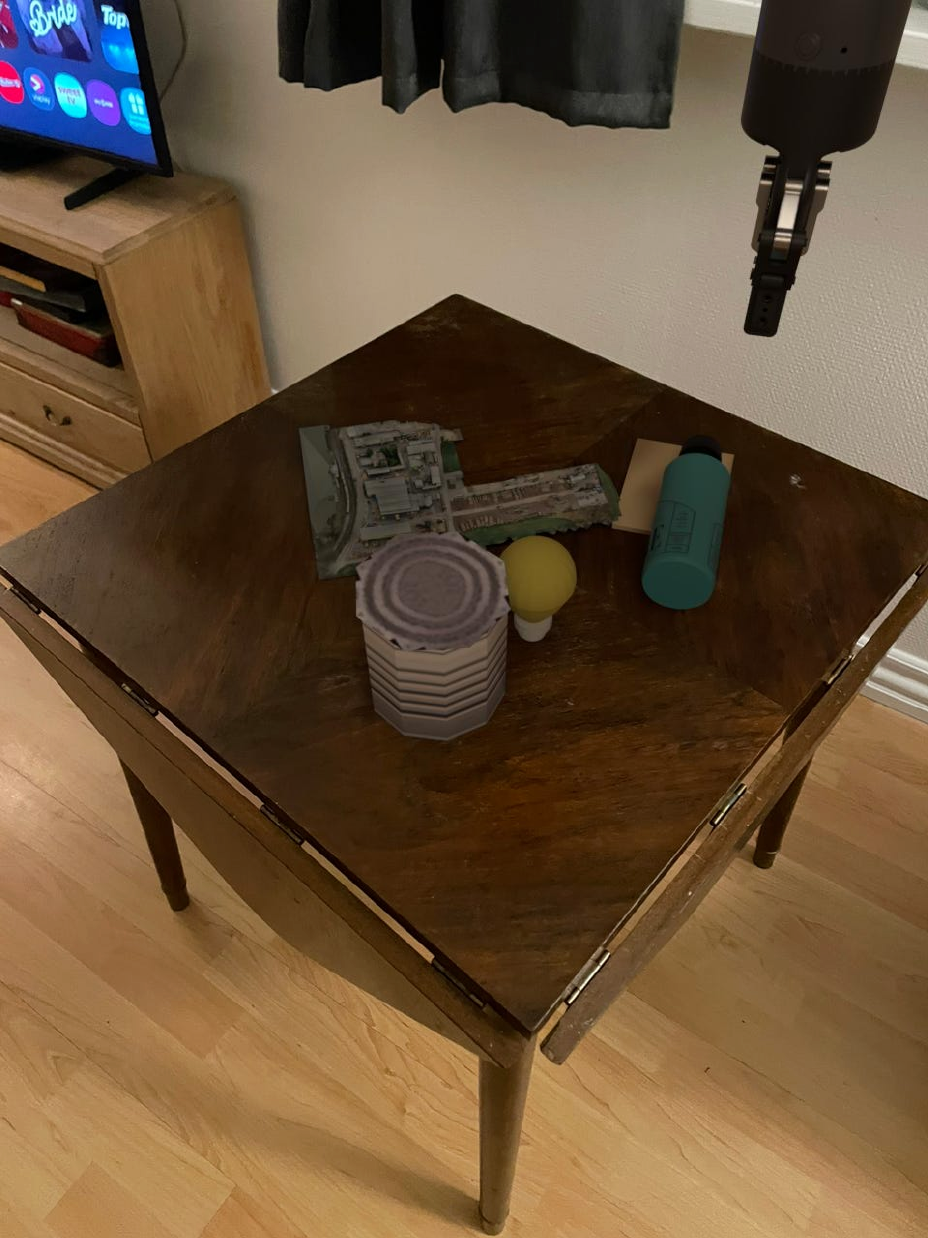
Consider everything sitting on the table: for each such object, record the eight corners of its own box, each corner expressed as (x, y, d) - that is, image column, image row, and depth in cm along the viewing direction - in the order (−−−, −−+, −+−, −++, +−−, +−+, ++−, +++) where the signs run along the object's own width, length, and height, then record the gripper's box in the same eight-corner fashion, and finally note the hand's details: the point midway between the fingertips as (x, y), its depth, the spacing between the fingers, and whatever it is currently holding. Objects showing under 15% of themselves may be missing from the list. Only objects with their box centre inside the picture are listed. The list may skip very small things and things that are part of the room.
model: (635, 529, 88) (636, 516, 87) (319, 580, 85) (316, 567, 84) (574, 401, 102) (574, 389, 101) (301, 441, 99) (299, 428, 98)
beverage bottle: (730, 606, 77) (752, 454, 90) (676, 559, 75) (706, 409, 87) (670, 633, 82) (699, 485, 94) (618, 590, 80) (654, 444, 92)
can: (493, 626, 81) (494, 522, 72) (519, 731, 73) (524, 630, 64) (362, 643, 80) (347, 539, 71) (374, 751, 72) (360, 651, 63)
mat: (733, 459, 96) (734, 454, 96) (716, 548, 87) (717, 543, 87) (636, 442, 98) (637, 437, 98) (611, 528, 89) (611, 523, 89)
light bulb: (515, 671, 77) (519, 587, 70) (480, 618, 82) (480, 533, 74) (585, 644, 79) (596, 560, 72) (547, 594, 83) (554, 509, 76)
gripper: (899, 86, 45) (811, 392, 58) (900, 9, 54) (822, 290, 66) (742, 75, 47) (689, 374, 60) (766, 1, 55) (716, 277, 68)
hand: (759, 329), depth 63 cm, fingers closed
